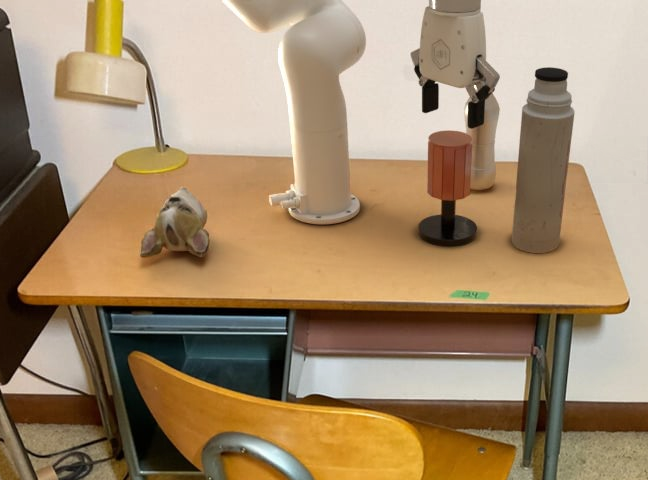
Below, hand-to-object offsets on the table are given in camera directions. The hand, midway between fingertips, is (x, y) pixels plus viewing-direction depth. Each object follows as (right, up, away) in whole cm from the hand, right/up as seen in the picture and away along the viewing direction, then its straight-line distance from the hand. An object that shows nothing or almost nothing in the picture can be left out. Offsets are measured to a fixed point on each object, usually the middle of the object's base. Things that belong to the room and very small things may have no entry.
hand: (452, 118), depth 132 cm
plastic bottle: (+5, -4, +28) cm, 29 cm away
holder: (-1, -15, +12) cm, 20 cm away
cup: (-1, -10, +7) cm, 12 cm away
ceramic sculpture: (-44, -19, +6) cm, 48 cm away
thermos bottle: (+14, -18, +10) cm, 25 cm away
